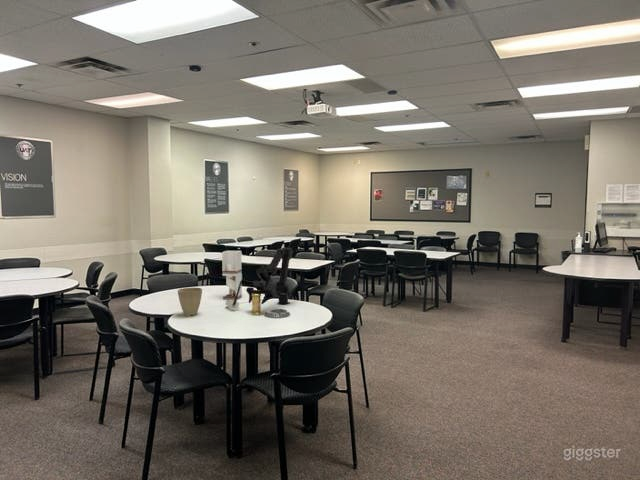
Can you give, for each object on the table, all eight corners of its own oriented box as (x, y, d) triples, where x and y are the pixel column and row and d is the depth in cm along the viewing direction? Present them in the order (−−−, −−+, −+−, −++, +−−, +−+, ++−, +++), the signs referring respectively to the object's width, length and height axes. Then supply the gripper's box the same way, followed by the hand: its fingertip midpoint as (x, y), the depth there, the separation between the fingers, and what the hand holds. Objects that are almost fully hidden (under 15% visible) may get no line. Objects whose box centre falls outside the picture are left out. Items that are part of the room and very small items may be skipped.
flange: (266, 311, 291) (266, 308, 291) (291, 312, 290) (291, 308, 290) (262, 317, 275) (262, 313, 275) (288, 318, 274) (288, 314, 274)
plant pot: (181, 312, 290) (180, 287, 289) (204, 311, 291) (204, 287, 290) (175, 317, 275) (174, 291, 274) (200, 317, 276) (199, 291, 275)
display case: (228, 296, 340) (227, 250, 338) (241, 297, 339) (241, 250, 336) (222, 299, 329) (222, 252, 327) (236, 300, 328) (236, 252, 325)
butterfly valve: (223, 305, 307) (225, 308, 291) (232, 277, 309) (235, 279, 293) (235, 309, 310) (238, 312, 293) (244, 280, 312) (247, 282, 295)
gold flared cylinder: (256, 312, 289) (256, 292, 288) (263, 313, 286) (263, 293, 285) (249, 314, 284) (249, 293, 283) (256, 315, 281) (256, 295, 280)
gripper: (247, 274, 291) (237, 294, 282) (272, 276, 283) (263, 297, 274) (254, 285, 299) (244, 304, 289) (278, 287, 291) (270, 307, 282)
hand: (255, 303), depth 283 cm, fingers open, 9 cm apart
